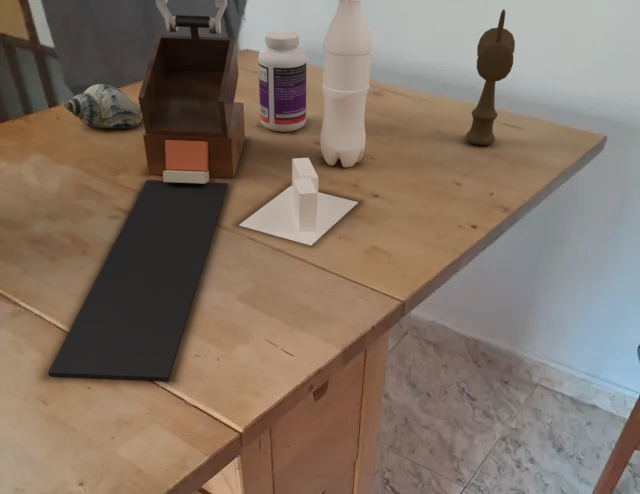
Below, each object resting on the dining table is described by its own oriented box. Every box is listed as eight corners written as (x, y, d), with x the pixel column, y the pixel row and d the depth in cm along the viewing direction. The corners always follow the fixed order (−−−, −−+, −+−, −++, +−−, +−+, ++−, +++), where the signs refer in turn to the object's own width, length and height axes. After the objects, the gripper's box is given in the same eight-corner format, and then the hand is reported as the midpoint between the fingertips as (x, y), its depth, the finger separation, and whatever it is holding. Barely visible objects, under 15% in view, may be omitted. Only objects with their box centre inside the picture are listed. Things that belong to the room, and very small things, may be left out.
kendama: (497, 134, 121) (523, 4, 108) (496, 154, 114) (524, 18, 101) (463, 130, 122) (485, 1, 108) (460, 150, 115) (483, 14, 102)
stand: (233, 177, 104) (231, 138, 100) (148, 174, 104) (142, 134, 100) (245, 139, 116) (243, 102, 112) (168, 136, 116) (164, 99, 112)
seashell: (143, 138, 119) (71, 139, 117) (141, 105, 122) (71, 106, 120) (138, 108, 113) (62, 109, 111) (137, 75, 116) (63, 75, 114)
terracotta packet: (208, 171, 102) (206, 170, 101) (168, 169, 102) (166, 169, 101) (208, 142, 101) (206, 141, 99) (167, 140, 101) (164, 139, 99)
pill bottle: (313, 122, 123) (315, 32, 113) (293, 137, 117) (293, 43, 107) (273, 114, 125) (271, 25, 115) (251, 128, 120) (248, 36, 110)
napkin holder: (289, 185, 103) (289, 146, 99) (358, 201, 100) (361, 162, 96) (237, 225, 93) (235, 185, 89) (312, 245, 90) (313, 204, 86)
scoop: (227, 137, 100) (221, 79, 93) (146, 134, 100) (133, 75, 93) (238, 73, 109) (234, 14, 101) (163, 69, 109) (153, 11, 101)
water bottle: (317, 152, 113) (323, -28, 96) (361, 152, 113) (373, -26, 96) (321, 170, 107) (326, -17, 90) (366, 170, 108) (380, -16, 91)
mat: (168, 381, 69) (168, 377, 68) (49, 376, 69) (47, 372, 68) (227, 186, 102) (227, 183, 102) (147, 183, 102) (146, 179, 102)
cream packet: (208, 170, 103) (209, 181, 103) (169, 169, 103) (169, 179, 103) (204, 172, 99) (204, 183, 100) (162, 171, 99) (163, 182, 100)
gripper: (102, -84, 90) (119, 34, 100) (256, -77, 90) (259, 40, 100) (114, -89, 95) (129, 23, 104) (261, -83, 95) (263, 29, 104)
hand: (194, 32), depth 102 cm, fingers closed on scoop, 5 cm apart
